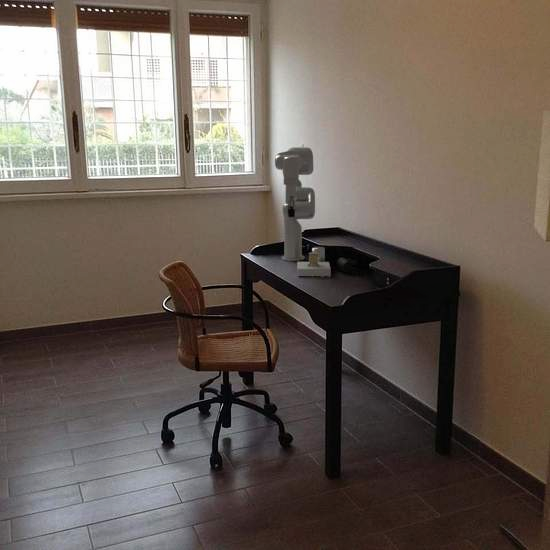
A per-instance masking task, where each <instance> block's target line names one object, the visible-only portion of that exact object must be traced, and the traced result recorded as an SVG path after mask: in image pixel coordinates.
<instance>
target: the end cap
mask: <svg viewBox="0 0 550 550" xmlns="http://www.w3.org/2000/svg"><path fill="white" fill-rule="evenodd" d="M357 263H358V262H357V261H356V260H353V258H351V257H350V258H349V257H348V258H345V257H341V256H340V257H339V258H338V259H337V261H336V266H337V267H338V268H339V270H341V271H342V272H343V273H345V274H347V275H355V274H354V273H356V274H357V272H356V271H357V267H352V266H357Z"/></svg>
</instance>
